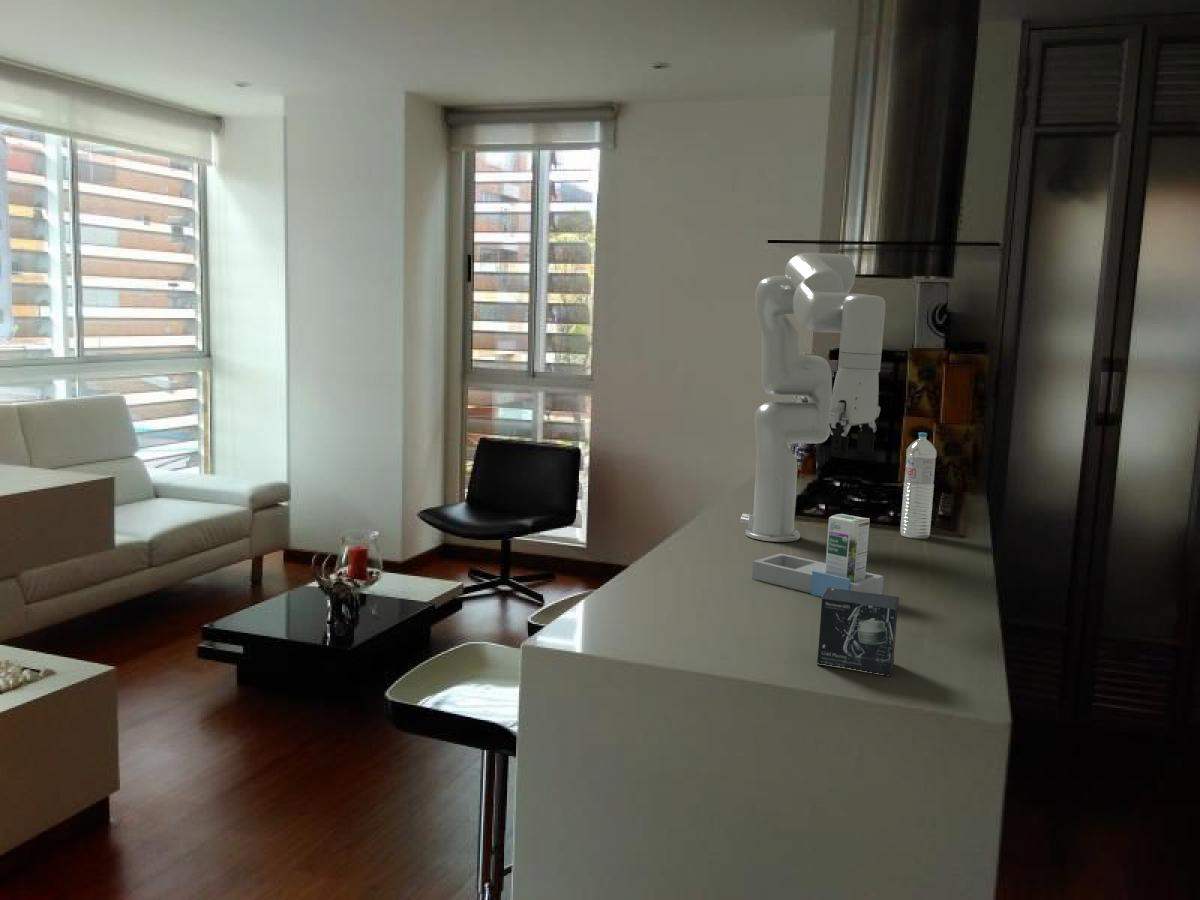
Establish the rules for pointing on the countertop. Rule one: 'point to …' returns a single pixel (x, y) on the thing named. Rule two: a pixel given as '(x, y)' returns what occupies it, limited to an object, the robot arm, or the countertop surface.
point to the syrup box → (847, 547)
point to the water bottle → (918, 489)
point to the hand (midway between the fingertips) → (851, 454)
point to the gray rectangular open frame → (809, 576)
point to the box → (858, 630)
